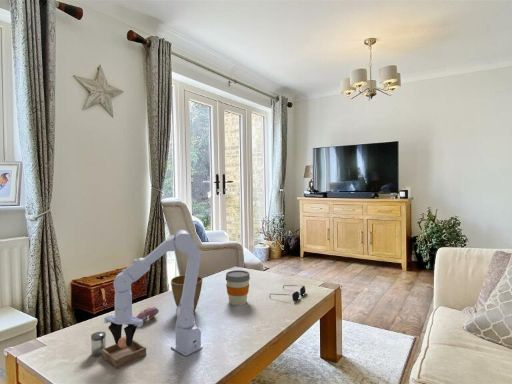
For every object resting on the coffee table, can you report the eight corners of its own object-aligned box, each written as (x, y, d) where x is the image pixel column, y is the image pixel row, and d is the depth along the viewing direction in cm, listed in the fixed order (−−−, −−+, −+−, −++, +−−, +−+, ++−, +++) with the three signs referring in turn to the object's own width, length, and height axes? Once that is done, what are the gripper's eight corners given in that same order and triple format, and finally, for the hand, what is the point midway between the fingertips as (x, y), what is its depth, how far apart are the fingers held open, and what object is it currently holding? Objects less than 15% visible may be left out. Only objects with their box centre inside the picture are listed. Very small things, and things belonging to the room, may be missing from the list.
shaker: (108, 352, 117) (108, 334, 117) (94, 358, 114) (94, 339, 113) (102, 348, 120) (102, 330, 120) (89, 353, 117) (88, 335, 117)
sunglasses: (294, 303, 165) (292, 294, 165) (269, 302, 173) (268, 292, 173) (306, 293, 180) (305, 284, 180) (283, 292, 187) (282, 284, 188)
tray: (146, 355, 116) (146, 347, 116) (116, 368, 107) (116, 360, 107) (130, 345, 123) (130, 337, 123) (101, 357, 114) (101, 349, 114)
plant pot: (164, 314, 151) (164, 281, 150) (185, 304, 164) (185, 273, 163) (189, 321, 144) (188, 286, 143) (208, 309, 157) (208, 277, 157)
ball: (132, 345, 116) (132, 335, 116) (125, 351, 113) (125, 340, 112) (122, 344, 117) (122, 333, 117) (115, 349, 114) (115, 338, 113)
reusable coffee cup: (251, 298, 172) (251, 270, 172) (248, 307, 160) (248, 277, 159) (228, 297, 174) (228, 269, 173) (223, 306, 161) (223, 276, 161)
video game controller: (138, 327, 141) (142, 315, 139) (133, 320, 143) (137, 308, 141) (157, 320, 149) (161, 308, 147) (152, 313, 151) (156, 302, 149)
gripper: (147, 304, 117) (148, 340, 117) (113, 300, 120) (113, 336, 121) (136, 311, 110) (136, 350, 110) (100, 307, 113) (100, 345, 114)
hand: (123, 343), depth 115 cm, fingers closed on ball, 4 cm apart
